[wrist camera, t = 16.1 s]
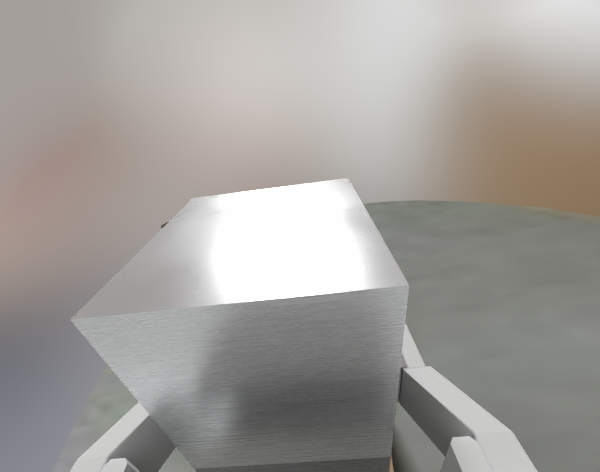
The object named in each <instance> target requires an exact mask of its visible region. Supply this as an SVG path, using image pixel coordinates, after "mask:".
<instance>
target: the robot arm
mask: <svg viewBox="0 0 600 472" xmlns="http://www.w3.org/2000/svg"><path fill="white" fill-rule="evenodd" d="M397 402H399V403H400V405H401V406H402V407H403V408H404V409H405V410H406V412H407V413H408V414H409V415H410V416H411V417H412V419H413V420H414V421H415V422H416V423H417V424H418V426H419V427H420V428H421V429H422V430H423V431H424V433H425V434H426V435H427V436H428V437H429V438H430V440H431V441H432V442H433V443H434V444H435V445H436V447H437V448H438V449H439V450H440V451H441V452H442V454H443V455H444V456H445V460H444V463H443V466H442V468H441V471H440V472H537V470H536V469H535V467H534V465H533V464H532V462H531V461H530V459H529V457H528V456H527V454H526V453H525V451H524V450H523V448H522V446H521V445H520V443H519V442H518V440H517V438H516V437H515V435H514V434H513V432H512V431H511V430H509V429H508V428H507V427H506V426H504V425H503V424H502V423H501V422H499V421H498V420H497V419H496V418H494V417H493V416H492V415H491V414H489V413H488V412H487V411H486V410H484V409H483V408H482V407H481V406H479V405H478V404H477V403H476V402H474V401H473V400H472V399H471V398H469V397H468V396H467V395H466V394H465V393H463V392H462V391H461V390H460V389H458V388H457V387H456V386H455V385H453V384H452V383H451V382H450V381H448V380H447V379H446V378H445V377H443V376H442V375H441V374H440V373H438V372H437V371H436V370H435V369H433V368H432V367H431V366H425V364H424V361H423V359H422V357H421V355H420V353H419V351H418V349H417V347H416V344H415V342H414V340H413V338H412V336H411V334H410V332H409V329H408V327H407V325H406V324H405V328H404V337H403V347H402V356H401V366H400V375H399V385H398V394H397ZM175 448H176V446H175V445H174V444H173V443H172V441H171V440H170V439H169V438H168V437H167V435H166V434H165V433H164V432H163V431H162V429H161V428H160V427H159V426H158V425H157V423H156V422H155V421H154V420H153V419H152V417H151V416H150V415H149V414H148V413H147V411H146V410H145V409H144V408H143V407H142V405H141V404H140V403H139V402H138V403H137V404H136V405H135V406H134V407H133V408H132V409H131V410H130V411H129V412H128V413H127V414H125V415H124V416H123V417H122V418H121V419H120V420H119V421H118V422H117V423H116V424H115V425H114V426H113V427H112V428H110V429H109V430H108V431H107V432H106V433H105V434H104V435H103V436H102V437H101V438H100V439H99V440H98V441H96V442H95V443H94V444H93V445H92V446H91V447H90V448H89V449H88V450H87V451H86V452H85V453H84V454H83V455H81V456H80V457H79V458H78V459H77V461H76V462H75V464H74V466H73V467H72V469H71V471H70V472H158V471H159V469H160V468H161V467H162V465H163V464H164V463H165V461H166V460H167V458H168V457H169V456H170V454H171V453H172V452H173V450H174V449H175Z"/></svg>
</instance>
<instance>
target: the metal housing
mask: <svg viewBox="0 0 600 472" xmlns="http://www.w3.org/2000/svg"><path fill="white" fill-rule="evenodd" d="M408 290H409V284H408V283H407V281H406V279H405V277H404V275H403V274H402V272H401V270H400V268H399V267H398V265H397V263H396V261H395V260H394V258H393V256H392V254H391V253H390V251H389V249H388V247H387V246H386V244H385V242H384V240H383V239H382V237H381V235H380V233H379V232H378V230H377V228H376V226H375V225H374V223H373V221H372V219H371V218H370V216H369V214H368V212H367V211H366V209H365V207H364V205H363V204H362V202H361V200H360V198H359V197H358V195H357V193H356V191H355V190H354V188H353V186H352V184H351V183H350V181H349V179H348V178H346V179H337V180H330V181H322V182H314V183H307V184H300V185H292V186H283V187H276V188H269V189H261V190H253V191H245V192H237V193H230V194H222V195H214V196H207V197H199V198H192V200H190V202H188V203H187V204H186V205H185V206H184V207H183V209H181V210H180V211H179V212H178V213H177V215H175V216H174V217H173V218H172V219H171V220H170V221H169V222H168V223H167V224H166V225H165V226H164V227H163V228H162V229H161V230H160V231H159V232H158V233H157V234H156V235H155V236H154V237H153V238H152V239H151V240H150V241H149V242H148V243H147V244H146V245H145V246H144V247H143V248H142V249H141V250H140V251H139V252H138V253H137V254H136V255H135V256H134V257H133V258H132V259H131V260H130V261H129V262H128V263H127V264H126V265H125V266H124V267H123V268H122V269H121V270H120V271H119V272H118V273H117V274H116V275H115V276H114V277H113V278H112V279H111V280H110V281H109V282H108V283H107V284H106V285H105V286H104V287H103V288H102V289H101V290H100V291H99V292H98V293H97V294H96V295H95V296H94V297H93V298H92V299H91V300H90V301H89V302H88V303H87V304H86V305H85V306H84V307H83V308H82V309H81V310H80V311H79V312H77V313H76V314H75V315H74V317H72V318H71V321H72V322H73V323H74V325H75V326H76V327H77V328H78V329H79V331H80V332H81V333H82V334H83V335H84V337H85V338H86V339H87V340H88V341H89V343H90V344H91V345H92V346H93V347H94V349H95V350H96V351H97V352H98V354H99V355H100V356H101V357H102V358H103V360H104V361H105V362H106V363H107V364H108V366H109V367H110V368H111V369H112V370H113V372H114V373H115V374H116V375H117V376H118V378H119V379H120V380H121V381H122V382H123V384H124V385H125V386H126V387H127V388H128V390H129V391H130V392H131V393H132V394H133V396H134V397H135V398H136V399H137V401H138V402H139V403H140V404H141V405H142V407H143V408H144V409H145V410H146V411H147V413H148V414H149V415H150V416H151V417H152V419H153V420H154V421H155V422H156V423H157V425H158V426H159V427H160V428H161V429H162V431H163V432H164V433H165V434H166V435H167V437H168V438H169V439H170V440H171V441H172V443H173V444H174V445H175V446H176V448H177V449H178V450H179V451H180V452H181V454H182V455H183V456H184V457H185V458H186V460H187V461H188V462H189V463H190V464H191V466H192V467H193V468H194V469H195V470H196V472H389V470H390V460H391V451H392V441H393V432H394V423H395V413H396V404H397V394H398V385H399V375H400V366H401V356H402V347H403V337H404V328H405V318H406V309H407V300H408Z"/></svg>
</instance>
